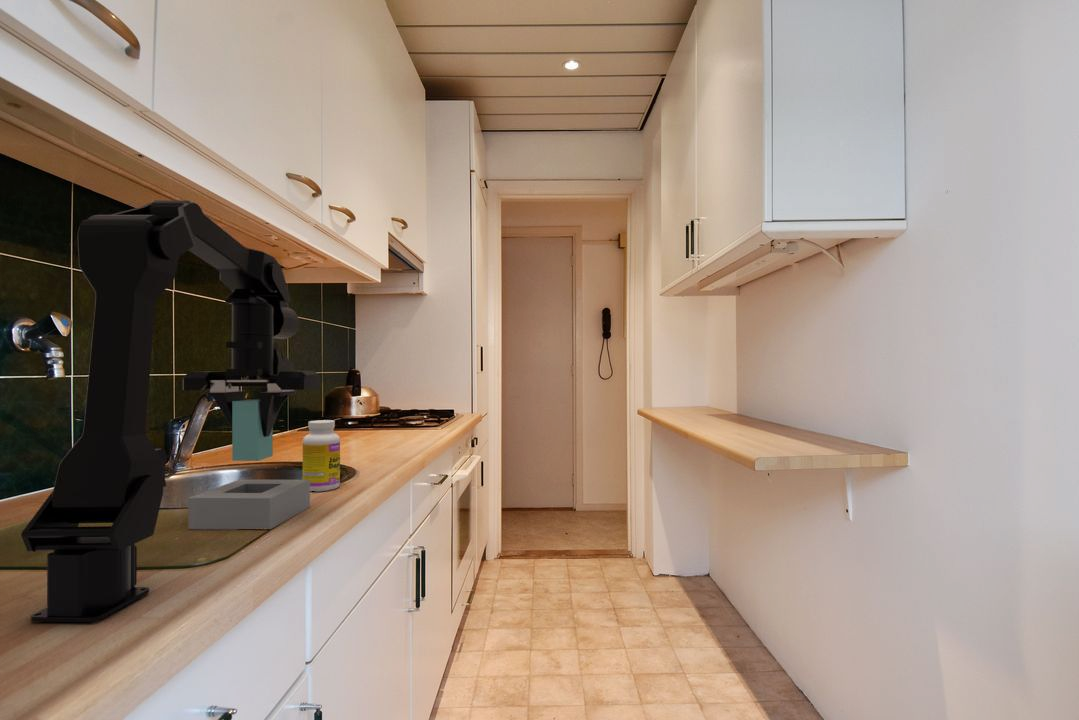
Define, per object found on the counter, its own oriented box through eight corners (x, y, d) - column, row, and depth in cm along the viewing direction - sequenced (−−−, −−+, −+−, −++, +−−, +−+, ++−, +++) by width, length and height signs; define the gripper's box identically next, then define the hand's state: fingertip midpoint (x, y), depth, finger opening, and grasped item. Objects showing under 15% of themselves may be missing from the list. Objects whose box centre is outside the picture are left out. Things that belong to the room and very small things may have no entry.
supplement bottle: (331, 492, 96) (331, 423, 96) (295, 492, 96) (295, 423, 97) (345, 484, 103) (345, 419, 103) (312, 484, 103) (312, 419, 103)
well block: (269, 529, 75) (269, 498, 75) (188, 529, 75) (188, 497, 75) (309, 506, 87) (309, 479, 87) (239, 506, 87) (239, 479, 87)
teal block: (258, 460, 79) (258, 401, 79) (232, 460, 79) (232, 401, 79) (272, 456, 83) (272, 399, 83) (248, 456, 83) (248, 399, 83)
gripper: (334, 338, 89) (334, 430, 89) (227, 339, 89) (227, 430, 89) (302, 334, 78) (302, 439, 77) (180, 335, 78) (179, 439, 78)
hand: (252, 436), depth 81 cm, fingers closed on teal block, 4 cm apart
